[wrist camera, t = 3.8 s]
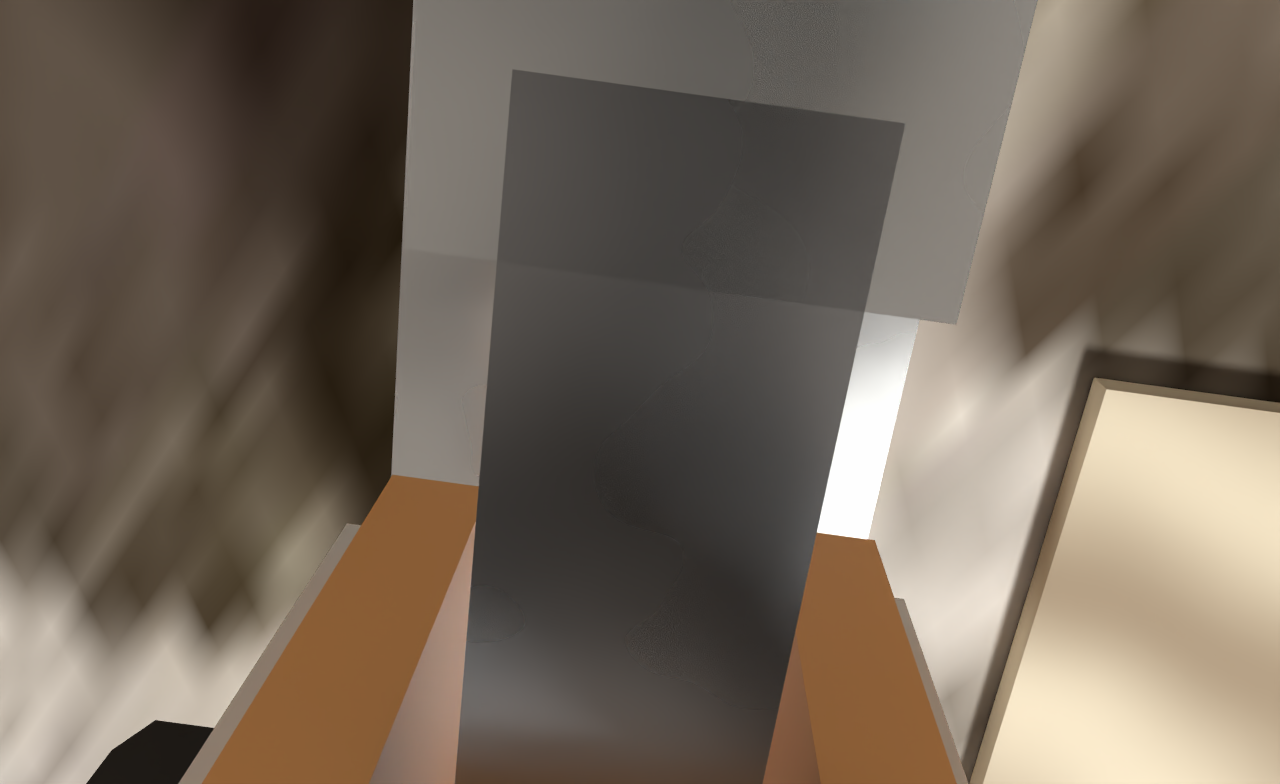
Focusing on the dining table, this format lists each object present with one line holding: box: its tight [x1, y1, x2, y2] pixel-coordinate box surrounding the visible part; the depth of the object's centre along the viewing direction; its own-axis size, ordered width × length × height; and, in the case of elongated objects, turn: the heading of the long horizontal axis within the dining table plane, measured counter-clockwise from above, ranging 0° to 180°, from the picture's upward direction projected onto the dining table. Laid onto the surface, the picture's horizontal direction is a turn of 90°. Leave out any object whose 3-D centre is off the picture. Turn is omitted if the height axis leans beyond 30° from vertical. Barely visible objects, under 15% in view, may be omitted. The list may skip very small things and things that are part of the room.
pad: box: [969, 378, 1280, 784], centre depth 20 cm, size 10×10×1 cm
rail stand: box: [391, 0, 1038, 784], centre depth 14 cm, size 20×8×12 cm, turn 173°
